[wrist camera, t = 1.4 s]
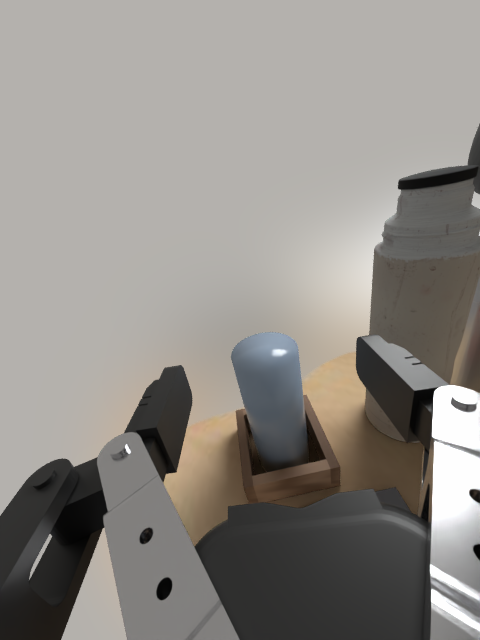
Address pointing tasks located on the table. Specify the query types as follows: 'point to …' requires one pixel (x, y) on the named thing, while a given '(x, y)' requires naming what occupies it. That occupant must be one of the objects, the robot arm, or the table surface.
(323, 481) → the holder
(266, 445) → the jug
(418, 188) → the thermos bottle
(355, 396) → the table surface
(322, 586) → the robot arm
